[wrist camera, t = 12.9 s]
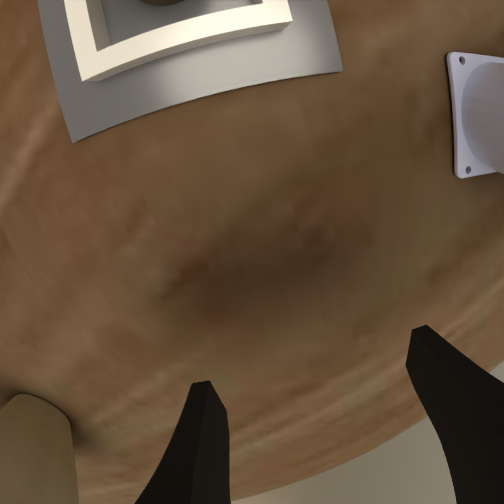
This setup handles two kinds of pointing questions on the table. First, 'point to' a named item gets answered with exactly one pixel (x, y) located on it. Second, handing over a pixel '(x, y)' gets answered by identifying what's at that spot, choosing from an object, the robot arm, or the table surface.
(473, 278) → the table surface
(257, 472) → the table surface
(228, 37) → the holder
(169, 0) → the walnut peg
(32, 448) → the plant pot
